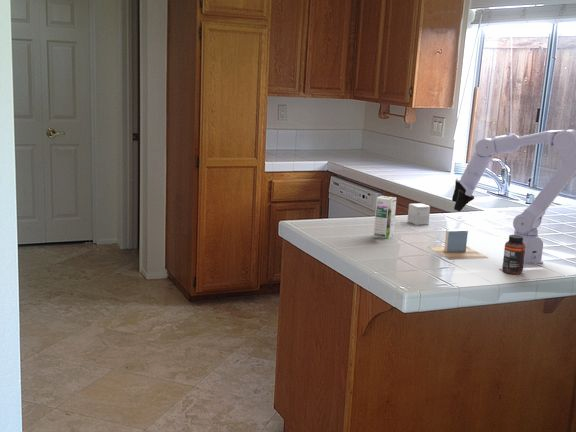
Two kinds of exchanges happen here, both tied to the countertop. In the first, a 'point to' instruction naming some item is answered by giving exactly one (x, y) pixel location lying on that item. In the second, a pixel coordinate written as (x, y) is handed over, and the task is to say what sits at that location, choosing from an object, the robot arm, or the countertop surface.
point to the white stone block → (418, 214)
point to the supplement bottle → (514, 255)
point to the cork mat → (458, 253)
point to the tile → (455, 240)
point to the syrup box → (384, 217)
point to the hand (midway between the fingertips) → (455, 205)
